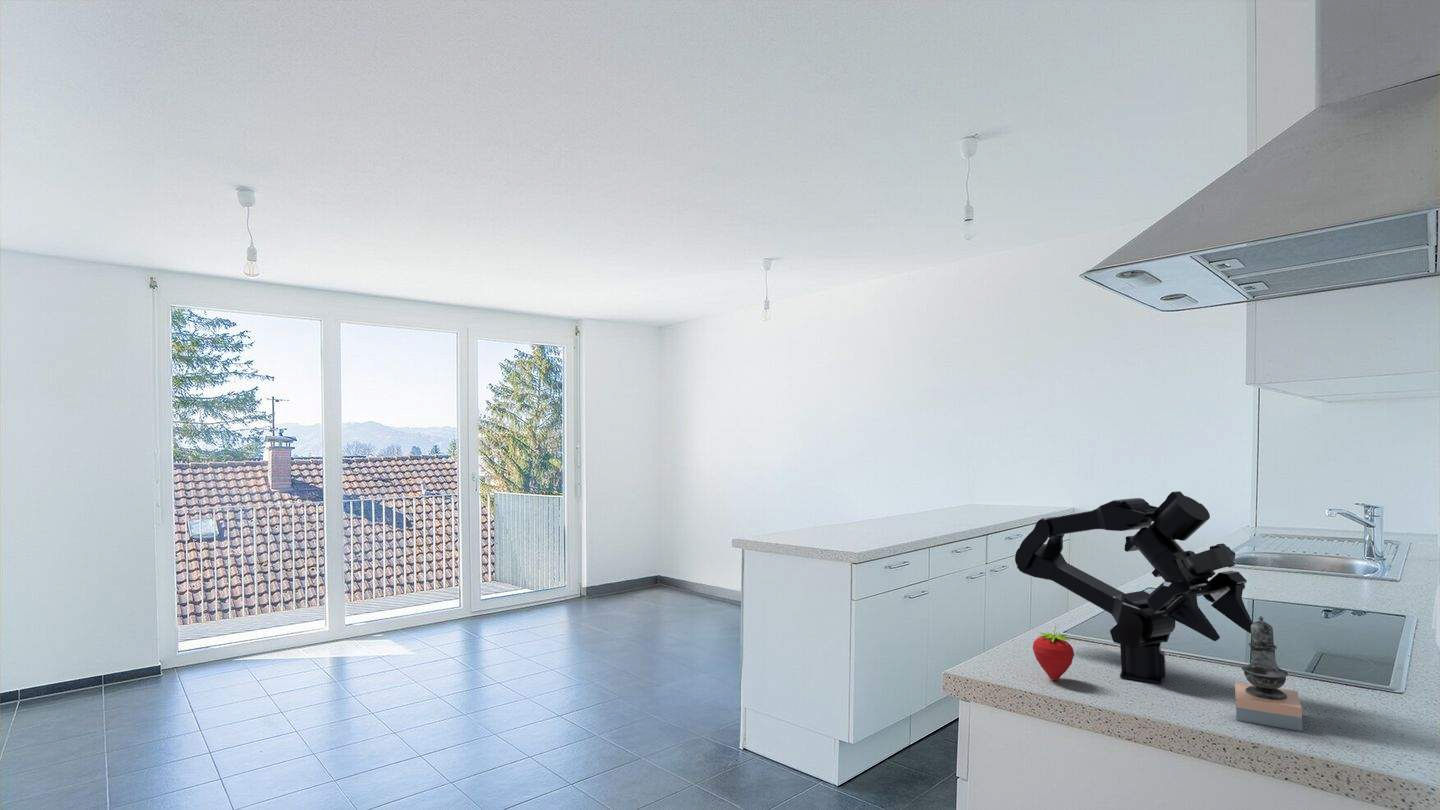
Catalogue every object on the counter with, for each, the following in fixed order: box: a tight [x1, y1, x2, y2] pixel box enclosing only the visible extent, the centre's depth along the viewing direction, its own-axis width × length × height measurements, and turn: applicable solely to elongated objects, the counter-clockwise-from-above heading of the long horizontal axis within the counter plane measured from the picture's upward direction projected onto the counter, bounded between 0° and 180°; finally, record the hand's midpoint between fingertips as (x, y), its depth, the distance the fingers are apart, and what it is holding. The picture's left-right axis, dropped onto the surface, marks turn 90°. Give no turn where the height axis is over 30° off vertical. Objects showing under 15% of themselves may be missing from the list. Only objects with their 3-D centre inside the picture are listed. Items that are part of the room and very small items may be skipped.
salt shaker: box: [1241, 615, 1289, 700], centre depth 113 cm, size 6×6×12 cm
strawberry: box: [1032, 625, 1075, 681], centre depth 131 cm, size 6×8×10 cm
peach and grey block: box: [1234, 681, 1304, 732], centre depth 113 cm, size 8×8×4 cm
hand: (1235, 635), depth 117 cm, fingers open, 9 cm apart
